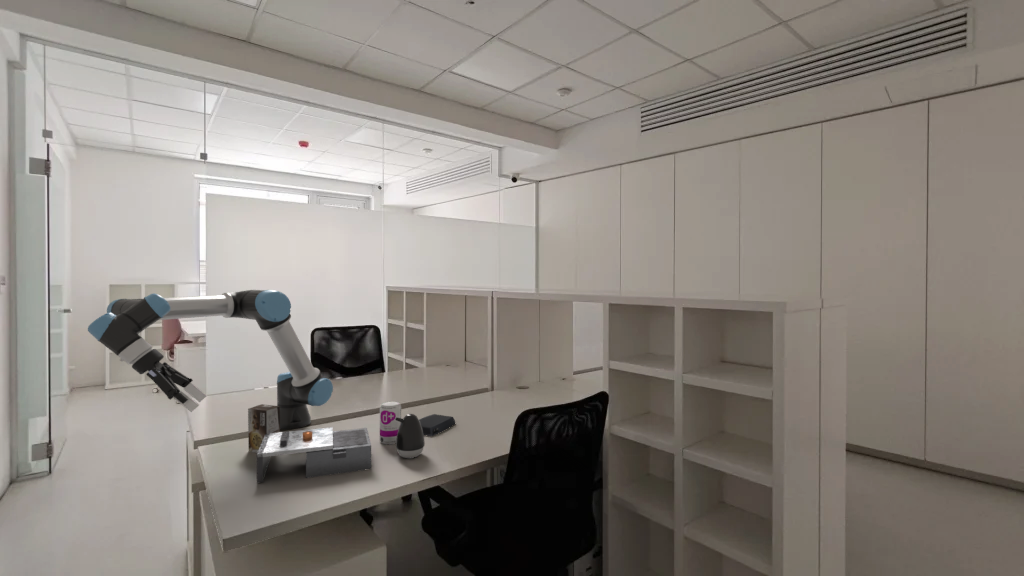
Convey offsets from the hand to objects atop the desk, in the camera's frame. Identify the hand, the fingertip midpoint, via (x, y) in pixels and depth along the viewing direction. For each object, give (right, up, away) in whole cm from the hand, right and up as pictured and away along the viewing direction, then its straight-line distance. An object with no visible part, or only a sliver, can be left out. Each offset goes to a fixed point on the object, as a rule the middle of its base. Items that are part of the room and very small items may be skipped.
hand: (199, 403), depth 145 cm
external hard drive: (+64, -25, +55) cm, 88 cm away
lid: (+25, -24, +11) cm, 37 cm away
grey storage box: (+38, -24, +16) cm, 48 cm away
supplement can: (+50, -24, +37) cm, 67 cm away
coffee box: (+6, -24, +27) cm, 37 cm away
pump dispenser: (+61, -25, +23) cm, 69 cm away
